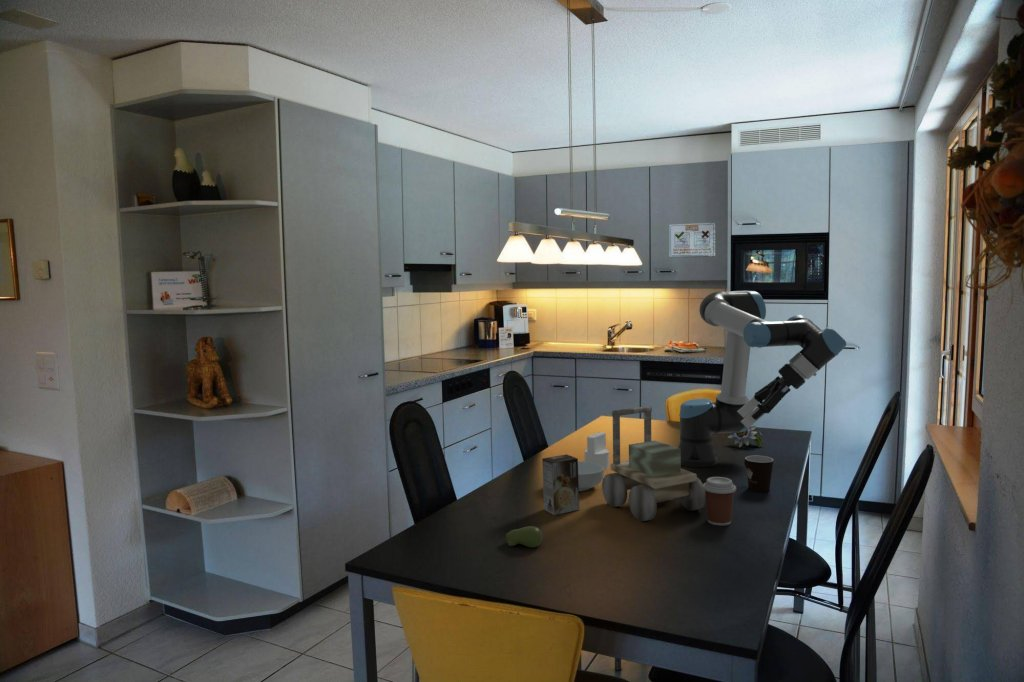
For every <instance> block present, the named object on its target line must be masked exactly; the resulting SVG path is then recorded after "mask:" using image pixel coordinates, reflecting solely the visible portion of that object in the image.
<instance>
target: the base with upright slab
mask: <svg viewBox="0 0 1024 682" xmlns="http://www.w3.org/2000/svg"><path fill="white" fill-rule="evenodd" d="M606 438H607V436H606V433H605V432H602V431H601V432H600V431H599V432H596V433H593V434H590V435H588V436H586V446H587V447H586V449H585V450H584V462H592V463H597V464H599V465H601V466H603V468H604V470H607V469H609V467H610V451H609V449H607V448H606V447H607V445H606V444H607V442H606V441H607V439H606Z"/></svg>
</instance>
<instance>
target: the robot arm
mask: <svg viewBox="0 0 1024 682" xmlns="http://www.w3.org/2000/svg"><path fill="white" fill-rule="evenodd" d="M766 308H767V306H766V303H765V300H764V298H763V297H762V295H761V293H759V292H757V291H755V290H746V289H745V290H733V291H732V290H731V291H727V290H726V291H715V292H712V293H709V294H708V295H706V296H705V297H704V298H703V299H702V300H701V302H700V305H699V311H698V312H699V315H700V318H701V319H702V320H703V321H704V323H707V324H708V325H710V326H712V327H721V328H723V329H724V330H726V340H725V341H726V342H725V350H724V359H723V368H722V369H723V370H722V381H721V388H720V392H719V393H717V394H716V397H715V402H713V401H712V399H710V398H693V399H688V400H686V401H684V402H682V403H681V405H680V408H679V409H680V410H679V415H678V416H679V443H678V447H677V448H680V449H681V466H685V467H691V468H710V467H712V466H716V465H717V464H718V456H717V454H716V450H715V447H714V444H713V435H714V434H728V433H729V434H731V433H738V432H743V431H746V430H747V429H749V428H750V427H752V425H753V426H754V424H755V423H756V422H758V421H759V420H760V419H762V417H763V416H764V415H765V414H767V415H768V414H770V413H771V411H772V410H773V409H774V408H775V407H776V406H777V405H778V404H779V403H780V402H781V401H782V400H783V398H784V397H785V396H786V395H787V394H789V393H790V392H791V388H790V387H791V386H792V388H794V389H795V390H798V389H799V388H801V387H802V386H803V385H805V383H806V380H810V378H812V377H813V376H814V377H816V376H817V373H818V372H819V371H820V370H821V369H822V368H824V367H825V366H826V365H827V364H828V363H829V362H830V361H831V360H833V359H834V358H835V357H836V356H838V355H839V354H840V353H841V352H842V351H843V350H844V349H845V348H846V346H847V341H846V340H845V338H843V337H842V336H841V335H840V333H838V332H837V331H836V330H835V329H833V328H832V327H829V326H828V327H826V328H824V329H821V328H820V327H819V326H818V325H816V324H815V323H814V322H813V321H812V320H810V319H809V318H807V317H806V316H804V315H802V314H796V315H793V316H791V317H789V318H788V319H787V320H783V321H782V320H780V321H779V320H777V321H769V320H766V316H767V309H766ZM787 346H788V347H791V346H794V347H795V346H799V347H801V348H802V349H800V350H799V352H798V351H797V353H796V354H794V356H792V357H791V358H790V359H789V360H788V362H789V363H785V364H783V366H781V368H779V369H778V373H779V374H780V376H779V375H778V376H776V377H775V378H774V379H773V380H772V381H770V382H769V383H767V384H766V385H765V386H763V387H762V388H761V389H759V390H758V391H756V392H755V393H754V396H753V397H752V398H750V399H749V397H747V396H746V390H747V382H748V381H747V379H748V371H749V363H750V354H751V348H759V349H761V348H767V347H768V348H769V347H787Z"/></svg>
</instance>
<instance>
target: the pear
mask: <svg viewBox="0 0 1024 682" xmlns="http://www.w3.org/2000/svg"><path fill="white" fill-rule="evenodd" d="M505 541H506V543H507V546H509V547H514V546H515V547H516V546H517V545H519V544H520V545H523V546H525V547H528V548H531V549H532V548H533V549H534V548H537V547H540V545H541V544H542V541H543V533H542V530H541V529H540V528H539V527H537V526H533V525H532V526H530V525H529V526H524V527H521V528H516V529H512V530H509V532H506V533H505Z"/></svg>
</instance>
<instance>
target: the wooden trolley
mask: <svg viewBox="0 0 1024 682" xmlns="http://www.w3.org/2000/svg"><path fill="white" fill-rule="evenodd" d="M652 411H653V408H652V406H651V405H648V406H646V405H645V406H640V407H639V406H638V407H632V408H631V407H630V408H623V409H617V410H616V409H615V410H612V412H611V416H612V461H613V462H612V463H610V471H613V472H612V473H607V474H604V475H603V478H602V481H601V489H602V490H601V491H602V495H603V498H604V500H605V502H606V503H607V504H608V505H609V506H610V507H612V508H616V507H622V506H624V505H625V504H626V502H627V499H628V503H629V504H628V505H629V509H630V511H631V513H632V515H633V516H634V519H636V520H638V521H640V522H646V521H647V522H648V521H651V520H653V519H654V518H655V516H656V514H657V509H658V507H657V505H658V503H662V502H669V501H674V500H677V499H679V502H680V504H681V505H682V506H683V508H684V509H686V510H687V511H690V512H691V511H697V510H701V509H702V508H703V507H705V505H706V495H705V490H704V489H703V484H704V483H702V481H701V479H700V478H698V477H697V473H694V472H692V471H689V470H686V469H684V468H682V467H681V466H682V465H681V449H680V448H678V447H676V446H674V445H670V444H667V443H664V442H661V441H658V440H652ZM635 414H643V425H644V426H643V431H644V433H643V434H644V435H643V439H644V440H643V442H639V443H630V444H628V460H626V461H624V460H623V461H621V420H620V419H621V418H620V417H621V416H627V415H628V416H629V415H635ZM628 491H629V492H628Z"/></svg>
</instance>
